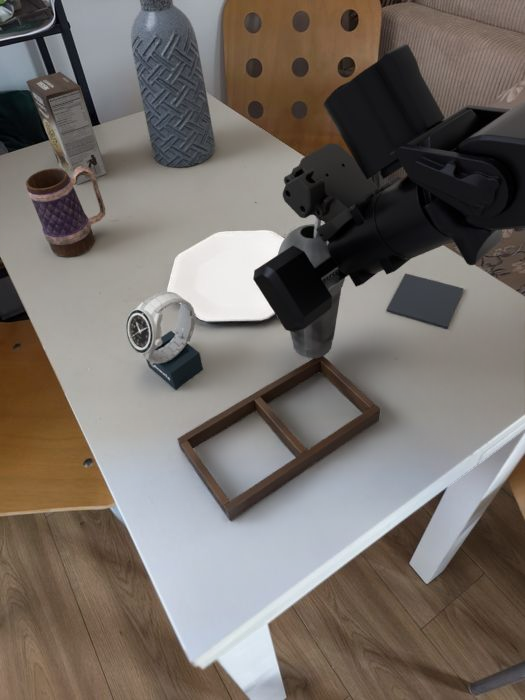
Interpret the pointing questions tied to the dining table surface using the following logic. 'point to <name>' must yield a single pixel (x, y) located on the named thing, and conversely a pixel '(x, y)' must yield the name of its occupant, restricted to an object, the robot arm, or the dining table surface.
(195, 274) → the plate
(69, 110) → the coffee box
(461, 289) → the coaster
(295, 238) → the beverage cup
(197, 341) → the dining table surface
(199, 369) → the watch
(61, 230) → the mug
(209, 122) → the vase
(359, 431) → the frame
